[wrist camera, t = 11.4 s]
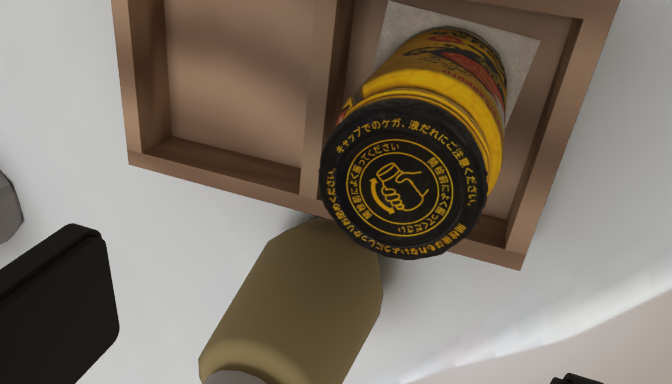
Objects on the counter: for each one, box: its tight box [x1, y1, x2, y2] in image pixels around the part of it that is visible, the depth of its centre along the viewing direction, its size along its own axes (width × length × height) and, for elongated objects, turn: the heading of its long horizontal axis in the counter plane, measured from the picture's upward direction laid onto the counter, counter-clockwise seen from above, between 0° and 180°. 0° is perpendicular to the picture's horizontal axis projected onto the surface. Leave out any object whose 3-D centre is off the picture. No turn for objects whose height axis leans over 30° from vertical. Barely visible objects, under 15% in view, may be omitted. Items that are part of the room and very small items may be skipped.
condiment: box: [318, 0, 541, 260], centre depth 20 cm, size 7×8×12 cm
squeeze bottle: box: [198, 217, 383, 384], centre depth 25 cm, size 8×8×18 cm
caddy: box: [111, 0, 620, 271], centre depth 26 cm, size 13×23×4 cm, turn 83°
